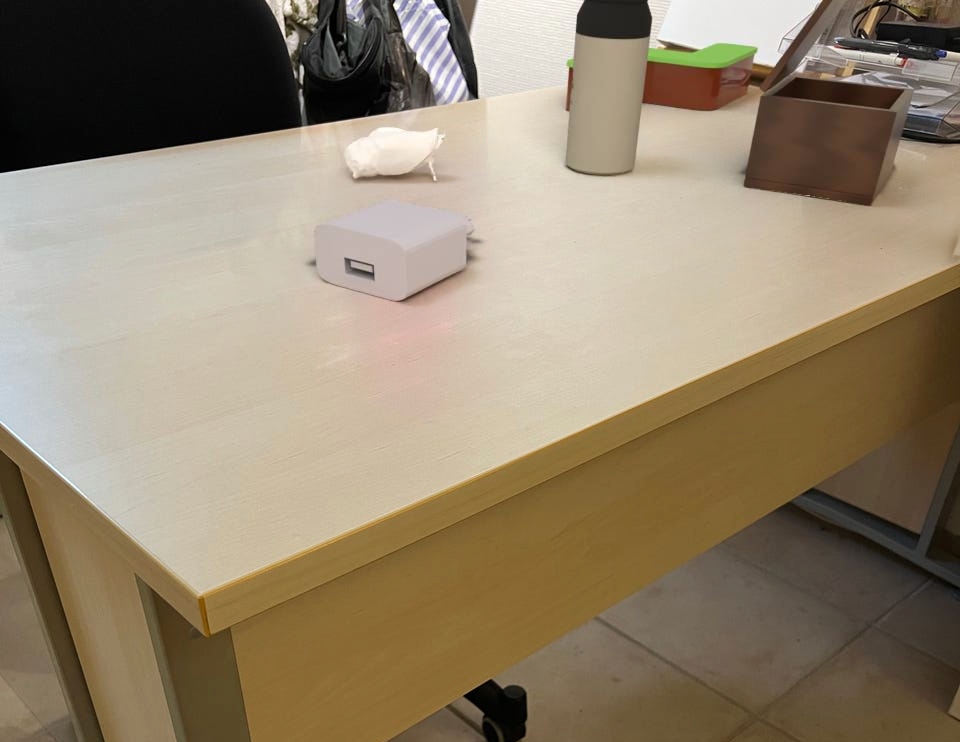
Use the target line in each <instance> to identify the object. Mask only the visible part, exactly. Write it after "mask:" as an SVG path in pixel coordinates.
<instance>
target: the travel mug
mask: <svg viewBox="0 0 960 742" xmlns="http://www.w3.org/2000/svg"><path fill="white" fill-rule="evenodd" d="M648 1H649V0H583V2H582V4H581V6H580V8H579V9H578V12H577V14H576V23H575V35H574V47H573V48H574V49H573V58H574V59H573V58H572V59H573V72H572V85H571V98H570V111H568V125H567V138H566V150H565V164H566V165H567V166H568V167H569V168H570V169H572V170H574V171H576V172H579V173H582V174H587V175H596V176H616V175H622V174H625V173H628V172H630V171H631V170H633V169H634V168H635V164H636V156H637V148H638V140H639V131H640V123H641V115H642V108H643V107H642V106H643V102H642V100H643V91H644V83H645V75H646V67H647V58H648V50H649V48H650V42H651V41H650V40H651V32H652V24H653V15H652V12H651V9H650V6H649V2H648Z"/></svg>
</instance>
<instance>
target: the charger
mask: <svg viewBox="0 0 960 742" xmlns="http://www.w3.org/2000/svg"><path fill="white" fill-rule="evenodd" d="M471 221H472V217H471V216H469V215H467V216H464V215H463V214H462V213H460V212H457V211H453V210H450V209H449V210H448V209H443V208H439V207H436V208H433V207H427V206H423V205H419V204H414V203H410V202H406V201H401V200H398V199H392V198H391V199H390V198H387V199H383V200H380V201H378V202H375V203H372V204H370V205H368V206H364V207H362V208H359V209H357V210H354V211H352V212H349V213H346V214H344V215H341V216H338V217H336V218H333V219H331V220H330V219H329V220H328V221H326V222H323V223H320V224H318V225H316V226H314V229H313V239H314V240H313V241H314V252H315V253H314V254H315V264H316V271H317V274H318V275H319V277H320V278H321V279H323V280H324V281H325V282H327V283H329V284H332V285H335V286H339V287H343V288H346V289H348V290H349V289H350V290H352V291H357V292H359V293H364V294H367V295H370V296H374V297H378V298H382V299H385V300H389V301H396V302H397V301H402V300H404V299H407V298H409V297H410V296H412V295H413V296H414V295H415V294H416V293H419V292H420V291H422V290H424V289H426V288H428V287H430V286H432V285H434V284H436V283H438V282H440V281H443V280H444V279H446V278H448V277H450V276H453V275H454V274H456V273H458V272H460V271H462V270H464V269H465V268H466V267H467V245H468V244H467V243H468V241H467V237H469V236H471V235H472V234H473V233H474V232H475V231H476V228H475V226H474V224H473V223H472V222H471Z"/></svg>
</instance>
